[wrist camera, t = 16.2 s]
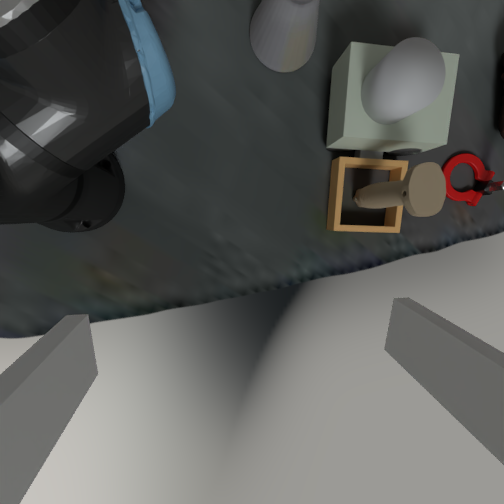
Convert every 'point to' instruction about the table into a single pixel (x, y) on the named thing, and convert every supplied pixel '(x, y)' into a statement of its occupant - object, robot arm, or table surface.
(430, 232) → the table surface
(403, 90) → the grey and tan pieces
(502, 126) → the dark brown irregular lump
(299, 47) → the lamp
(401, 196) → the handle
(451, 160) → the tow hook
